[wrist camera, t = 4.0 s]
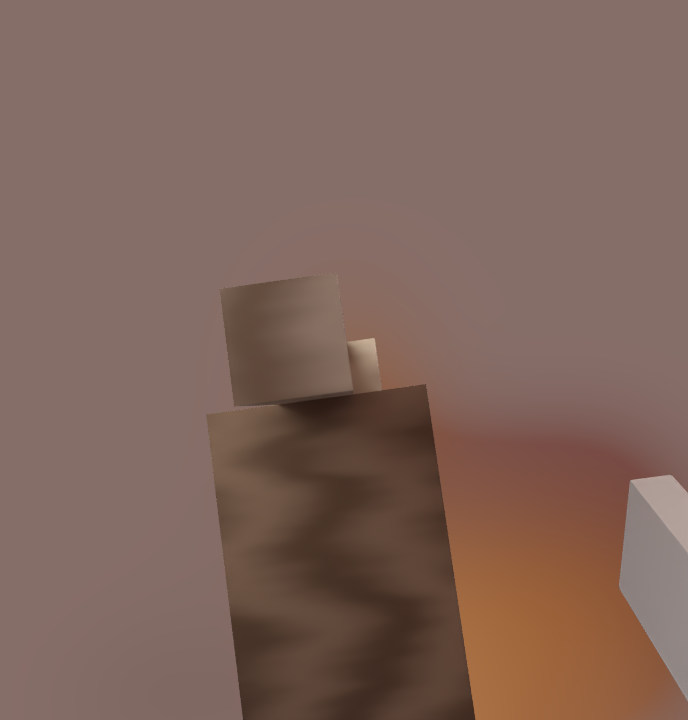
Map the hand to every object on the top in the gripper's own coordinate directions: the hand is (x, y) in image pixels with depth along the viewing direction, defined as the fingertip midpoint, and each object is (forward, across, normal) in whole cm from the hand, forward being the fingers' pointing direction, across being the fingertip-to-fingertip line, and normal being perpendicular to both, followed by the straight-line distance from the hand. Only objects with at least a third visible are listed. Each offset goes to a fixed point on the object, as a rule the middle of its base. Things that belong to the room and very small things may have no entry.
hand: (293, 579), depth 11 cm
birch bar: (+16, 0, -5) cm, 17 cm away
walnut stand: (+6, 0, -34) cm, 35 cm away
